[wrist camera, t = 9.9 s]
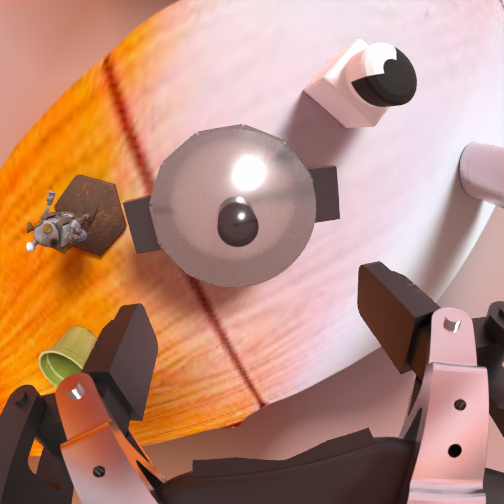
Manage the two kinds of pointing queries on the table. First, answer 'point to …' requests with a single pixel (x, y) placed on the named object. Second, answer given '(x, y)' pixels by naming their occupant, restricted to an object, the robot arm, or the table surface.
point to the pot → (142, 208)
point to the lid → (234, 208)
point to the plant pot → (67, 355)
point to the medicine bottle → (363, 83)
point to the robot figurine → (80, 218)
